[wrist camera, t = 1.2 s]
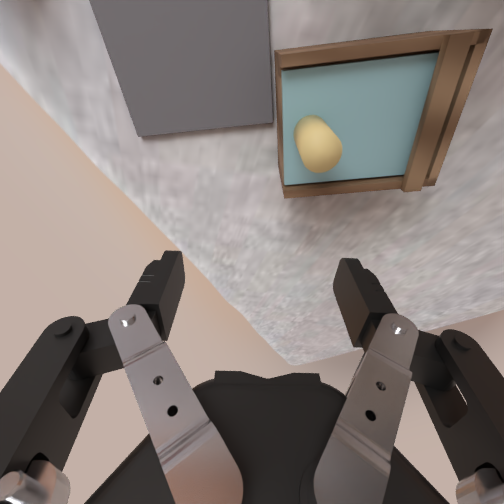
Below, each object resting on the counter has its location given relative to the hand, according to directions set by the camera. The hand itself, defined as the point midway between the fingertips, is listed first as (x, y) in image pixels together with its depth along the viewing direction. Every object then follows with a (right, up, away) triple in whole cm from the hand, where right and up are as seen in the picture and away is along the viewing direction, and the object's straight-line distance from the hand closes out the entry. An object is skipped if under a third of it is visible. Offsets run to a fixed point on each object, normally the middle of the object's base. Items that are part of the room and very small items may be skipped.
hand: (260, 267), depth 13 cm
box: (+10, +17, +16) cm, 25 cm away
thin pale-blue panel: (+9, +12, +11) cm, 19 cm away
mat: (-7, +20, +13) cm, 25 cm away
